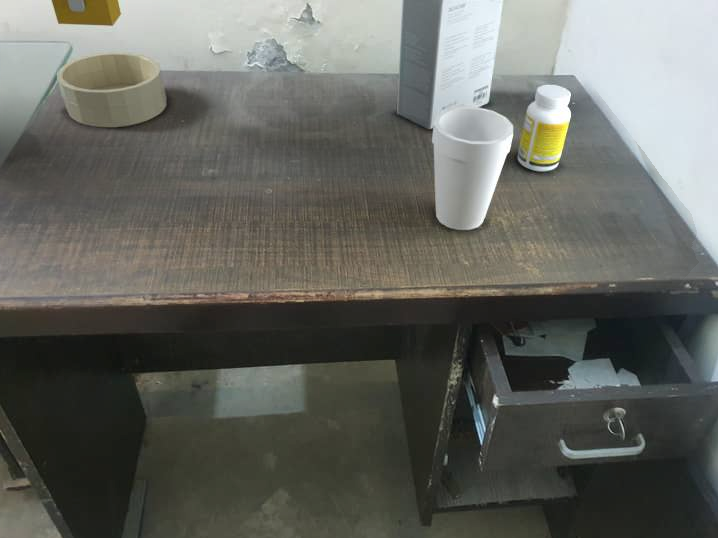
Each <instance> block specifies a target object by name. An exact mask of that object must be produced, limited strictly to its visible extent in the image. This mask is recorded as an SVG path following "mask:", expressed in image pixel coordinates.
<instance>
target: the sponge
mask: <svg viewBox="0 0 718 538" xmlns="http://www.w3.org/2000/svg"><path fill="white" fill-rule="evenodd" d="M51 4H52V7H53V10H54V13H55V17H56V21H57V24H58V25H77V26H78V25H82V26H105V27H109V26H110V27H113V26H114V25H115V23H117V21H118V19H119V18H120V17H121V14H122V12H121V8H120V4H119V0H86V4H87V7H86V8H85V10H84V11H83V12H73V11H72V10H71V9H70V8H69V4H68V1H67V0H51Z"/></svg>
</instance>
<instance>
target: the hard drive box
mask: <svg viewBox="0 0 718 538" xmlns="http://www.w3.org/2000/svg"><path fill="white" fill-rule="evenodd" d="M401 1H402V2H401V20H400V21H401V25H400V40H399V41H400V44H399V65H398V83H397V85H398V86H397V106H396V107H397V108H396V114H397V115H398V116H401V117H402V118H404V119H407V120H409V121H411V122H412V123H415V124H417V125H419V126H421V127H423V128H425V129H427V130H431V129H433V127H434V121H435V116H436V115H437V114H439V113H440V112H442V111H443V110H445V109H450V108H454V107H478V108H481V107H482V106H484V105H487V104H489V101H490V95H491V89H492V81H493V75H494V67H495V60H496V54H497V48H498V47H497V46H498V40H499V33H500V26H501V21H502V20H501V19H502V12H503V5H504V0H401Z"/></svg>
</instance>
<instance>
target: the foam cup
mask: <svg viewBox="0 0 718 538" xmlns="http://www.w3.org/2000/svg"><path fill="white" fill-rule="evenodd" d="M432 129H433V130H432V137H431V143H432V145H433V161H434V162H433V165H434V166H433V171H434V196H435V213H436V214H435V217H436V218H437V220H438V222H439V223H440V224H441V225H444V226H445V227H447V228H449V229H452V230H456V231H470V230H474V229H477V228H479V227H480V226H481V225H482V224H483V223H484V219H485V218H486V216H487V212H488V210H489V207H490V205H491V201H492V199H493V195H494V193H495V190H496V187H497V184H498V181H499V178H500V175H501V172H502V170H503V166H504V164H505V161H506V158H507V156H508V154H509V153H510V150H511V147H512V141H513V136H514V124H513V123H512V122H511V121H510V120H509V119H508V118H507V117H506V116H505V115H502V114H501V113H498V112H496V111H494V110H491V109H488V108H482V107H479V108H478V107H454V108H450V109H445V110H443V111H442V112H440V113H439V114H437V115H436V116H435V121H434V127H433V128H432Z"/></svg>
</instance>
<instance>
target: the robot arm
mask: <svg viewBox="0 0 718 538" xmlns="http://www.w3.org/2000/svg"><path fill="white" fill-rule="evenodd" d="M67 1H68V4H69V8H70V9H71V10H72V11H73V12H83V11H84V10H85V8H86V7H87V4H86V0H67Z"/></svg>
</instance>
